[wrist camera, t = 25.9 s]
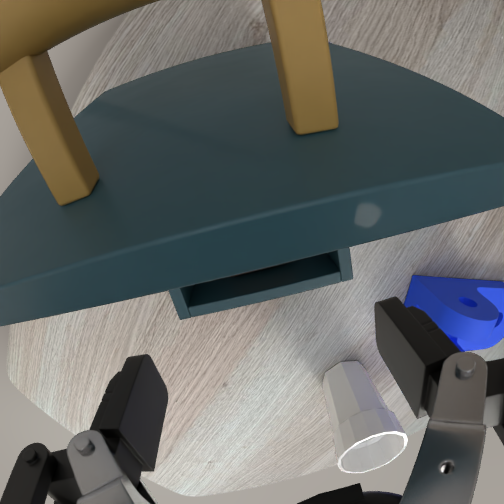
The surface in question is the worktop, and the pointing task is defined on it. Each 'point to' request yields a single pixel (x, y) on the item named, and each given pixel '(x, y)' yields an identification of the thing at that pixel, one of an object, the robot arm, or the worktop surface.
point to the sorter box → (263, 284)
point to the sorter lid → (222, 160)
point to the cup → (360, 420)
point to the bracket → (461, 308)
